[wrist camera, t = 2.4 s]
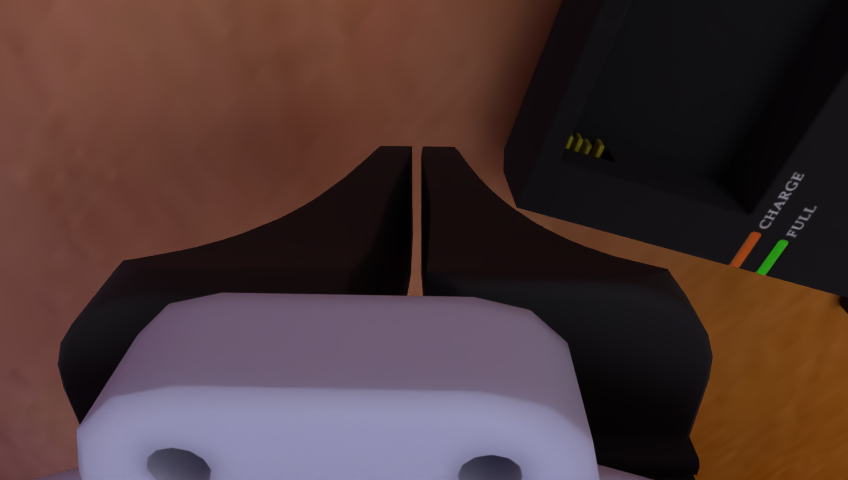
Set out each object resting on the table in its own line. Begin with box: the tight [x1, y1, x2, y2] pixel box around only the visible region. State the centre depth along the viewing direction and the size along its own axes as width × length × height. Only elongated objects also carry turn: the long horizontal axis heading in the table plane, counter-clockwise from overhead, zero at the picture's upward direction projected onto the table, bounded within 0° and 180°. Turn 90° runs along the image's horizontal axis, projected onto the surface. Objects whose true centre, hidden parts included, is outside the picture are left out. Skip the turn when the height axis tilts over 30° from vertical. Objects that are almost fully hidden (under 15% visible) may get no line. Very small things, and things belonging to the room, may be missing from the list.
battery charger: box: [503, 0, 848, 298], centre depth 17 cm, size 13×10×4 cm
